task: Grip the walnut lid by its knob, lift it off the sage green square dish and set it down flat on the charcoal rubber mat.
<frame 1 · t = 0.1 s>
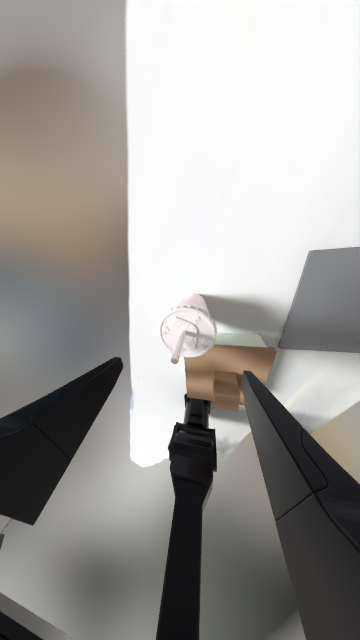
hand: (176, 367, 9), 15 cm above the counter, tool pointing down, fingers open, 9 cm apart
dish: (220, 356, 27), on the counter, touching lid
lid: (222, 374, 23), point 4 cm above the counter, touching dish
mat: (353, 306, 18), on the counter
smoothie: (194, 303, 23), on the counter
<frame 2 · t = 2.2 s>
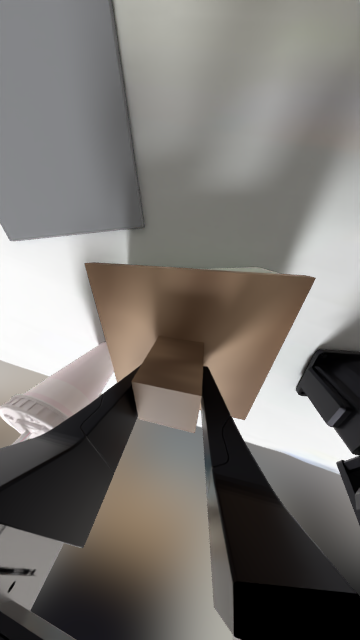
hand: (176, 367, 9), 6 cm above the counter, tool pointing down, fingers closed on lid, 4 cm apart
lid: (181, 350, 11), point 4 cm above the counter, touching dish, gripper
mat: (27, 109, 9), on the counter
smoothie: (111, 351, 19), on the counter
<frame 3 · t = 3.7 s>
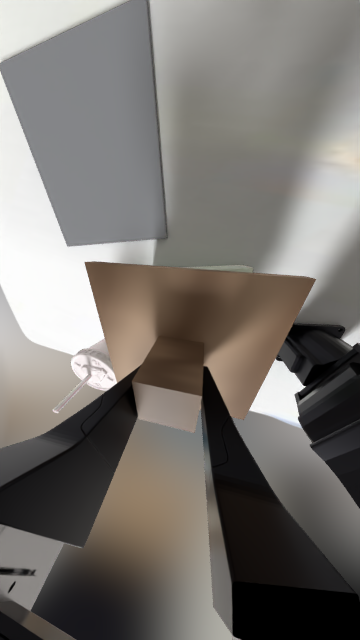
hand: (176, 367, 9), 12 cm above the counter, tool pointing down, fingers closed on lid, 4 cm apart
dish: (195, 308, 20), on the counter
lid: (181, 350, 11), point 10 cm above the counter, touching gripper
mat: (95, 164, 15), on the counter
smoothie: (133, 331, 25), on the counter
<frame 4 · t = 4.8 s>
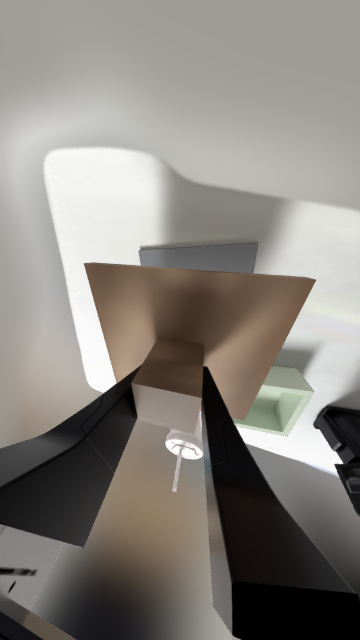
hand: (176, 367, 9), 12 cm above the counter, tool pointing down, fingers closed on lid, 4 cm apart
dish: (249, 386, 26), on the counter
lid: (181, 350, 11), point 11 cm above the counter, touching gripper
mat: (193, 302, 20), on the counter
smoothie: (191, 393, 30), on the counter
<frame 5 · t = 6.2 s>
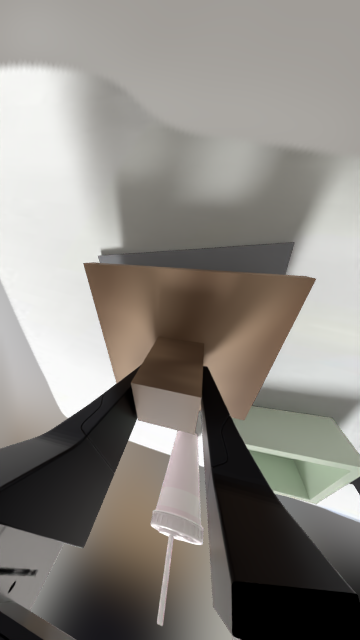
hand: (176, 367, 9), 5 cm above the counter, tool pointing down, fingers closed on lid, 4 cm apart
dish: (263, 430, 20), on the counter
lid: (181, 350, 11), point 3 cm above the counter, touching gripper
mat: (186, 330, 14), on the counter
smoothie: (187, 433, 24), on the counter
when the fingers open (3 cm above the counter, at t = 7.2 s): lid drops 1 cm, resting on mat.
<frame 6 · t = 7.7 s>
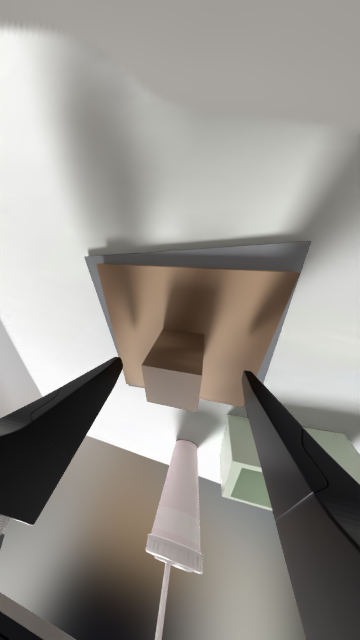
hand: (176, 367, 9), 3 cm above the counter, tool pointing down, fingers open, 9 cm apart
dish: (267, 444, 18), on the counter
lid: (183, 342, 12), resting on mat
mat: (184, 339, 12), on the counter
smoothie: (186, 444, 23), on the counter
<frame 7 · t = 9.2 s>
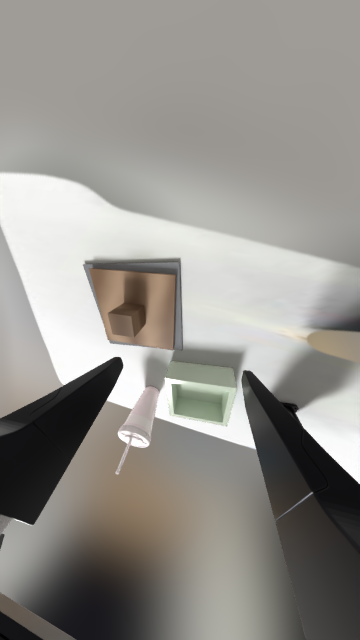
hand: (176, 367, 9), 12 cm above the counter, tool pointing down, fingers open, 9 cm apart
dish: (199, 383, 29), on the counter
lid: (137, 311, 22), resting on mat
mat: (138, 310, 22), on the counter
smoothie: (152, 390, 33), on the counter
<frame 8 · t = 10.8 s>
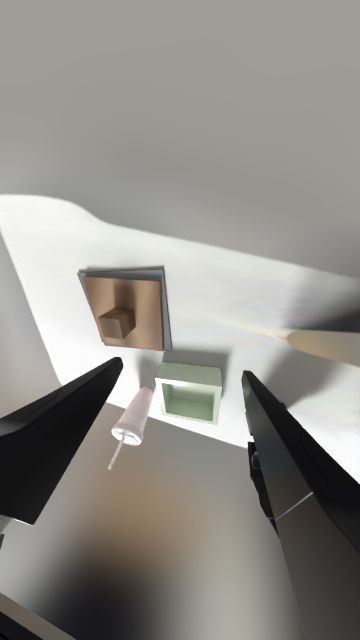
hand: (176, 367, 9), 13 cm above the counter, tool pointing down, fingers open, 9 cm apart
dish: (190, 383, 30), on the counter
lid: (128, 315, 24), resting on mat
mat: (129, 314, 24), on the counter
smoothie: (146, 390, 34), on the counter
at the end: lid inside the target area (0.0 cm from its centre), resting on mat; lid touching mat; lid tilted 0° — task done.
